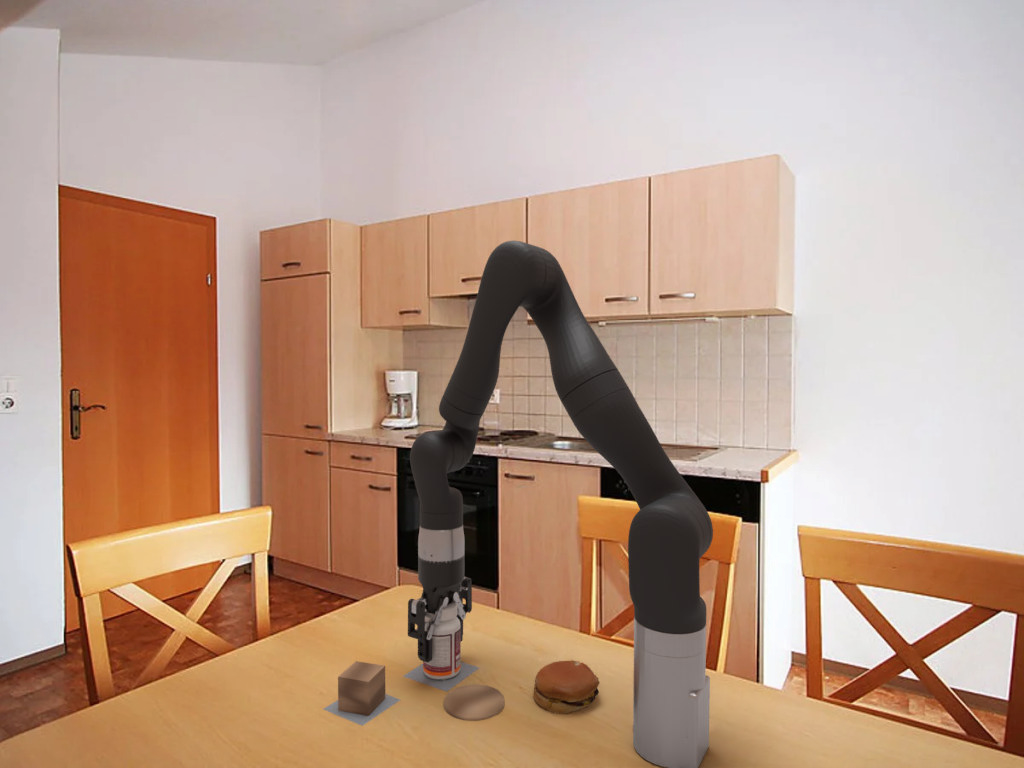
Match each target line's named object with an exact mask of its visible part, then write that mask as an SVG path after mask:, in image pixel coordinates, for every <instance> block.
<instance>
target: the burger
mask: <svg viewBox="0 0 1024 768" xmlns="http://www.w3.org/2000/svg"><path fill="white" fill-rule="evenodd" d="M534 679H535V680H534V685H533V693H532V695H533V699H534V701H535V702H536V704H538V706H540V707H541V708H543V709H545V710H547V711H549V712H552V713H555V714H558V715H559V714H562V715H563V714H570V713H573V712H576V711H578V710H581V709H583V708H586V707H588V706H590V705H591V704H592V703H593V702H594V701H595V699H596V697H597V696H598V695H599V693H600V691H599V689H598V687H599V686H600V682H601V681H599V677H598V676H597V674H595V673H594V672H593V670H592V669H591V667H589V666H588V665H587V664H585V663H584V662H580V661H578V660H559V661H554V662H551V663H548V664H546V665H544V666H543V667H542V668H540V669H539V671H538V672H537V673H536V675H535V678H534Z"/></svg>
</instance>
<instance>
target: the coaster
mask: <svg viewBox="0 0 1024 768" xmlns="http://www.w3.org/2000/svg"><path fill="white" fill-rule="evenodd" d="M504 706H505V697H504V695H503V693H502V692H501V691H500V690H498V689H497V688H496V687H493V686H489V685H485V684H476V683H475V684H465V685H461V686H459V687H458V686H457V687H455V688H452V690H449V691H448V692H447V693H446V695H445V696H444V699H443V708H444V710H445V712H446V713H447V714H448V715H449V716H451V717H453V718H454V719H457V720H461V721H462V720H463V721H466V722H468V721H470V722H471V721H472V722H476V721H484V720H487V719H490V718H493V717H495V716H496V715H498V714H500V713H501V712H502V710H503V709H504Z"/></svg>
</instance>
